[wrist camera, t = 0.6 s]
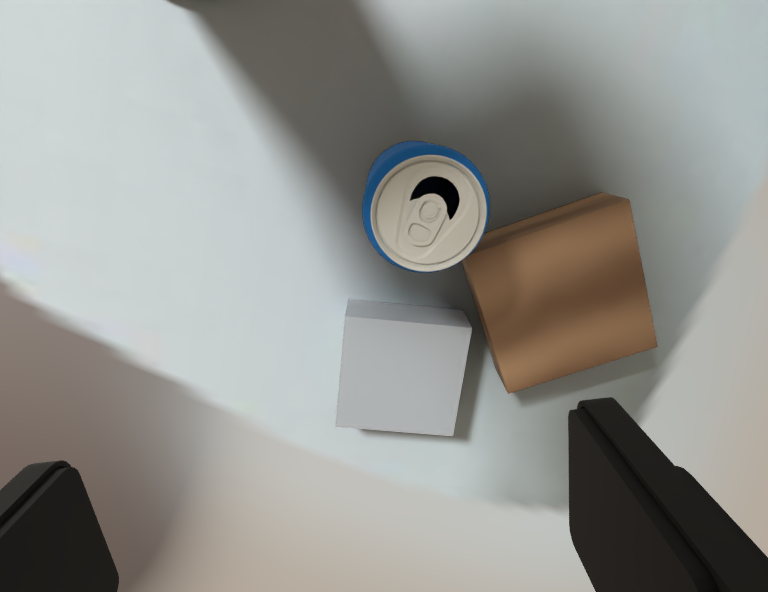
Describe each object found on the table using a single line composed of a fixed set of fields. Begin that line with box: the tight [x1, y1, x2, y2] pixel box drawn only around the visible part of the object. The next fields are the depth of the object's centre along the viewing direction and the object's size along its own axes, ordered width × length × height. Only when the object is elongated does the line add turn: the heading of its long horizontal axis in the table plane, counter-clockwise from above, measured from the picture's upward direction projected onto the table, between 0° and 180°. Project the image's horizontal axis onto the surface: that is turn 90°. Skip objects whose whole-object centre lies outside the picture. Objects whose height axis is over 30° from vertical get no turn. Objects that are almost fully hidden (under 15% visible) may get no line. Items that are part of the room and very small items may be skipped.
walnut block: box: [462, 192, 657, 394], centre depth 35 cm, size 11×11×4 cm
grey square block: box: [336, 299, 472, 436], centre depth 37 cm, size 9×9×4 cm
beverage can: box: [362, 141, 490, 273], centre depth 29 cm, size 6×6×12 cm
